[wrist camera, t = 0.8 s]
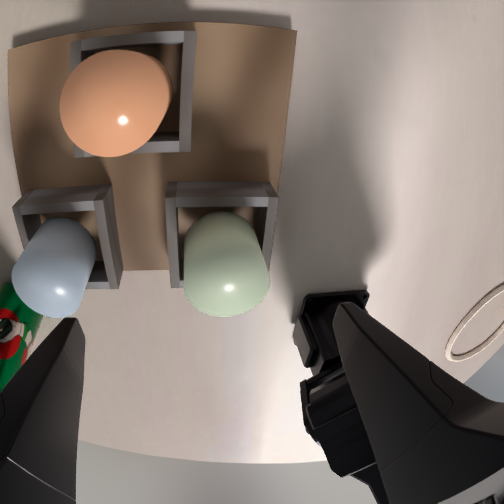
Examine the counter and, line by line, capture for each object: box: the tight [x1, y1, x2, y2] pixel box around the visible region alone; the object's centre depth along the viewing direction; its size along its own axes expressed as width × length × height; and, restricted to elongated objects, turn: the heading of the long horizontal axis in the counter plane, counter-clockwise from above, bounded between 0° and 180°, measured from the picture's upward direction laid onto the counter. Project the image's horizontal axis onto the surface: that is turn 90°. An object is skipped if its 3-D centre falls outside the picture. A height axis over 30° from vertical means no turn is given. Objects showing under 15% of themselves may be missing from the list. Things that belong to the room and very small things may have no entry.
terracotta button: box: [60, 49, 173, 157], centre depth 12 cm, size 4×4×4 cm
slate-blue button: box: [12, 217, 97, 318], centre depth 16 cm, size 4×4×4 cm
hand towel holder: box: [445, 284, 504, 362], centre depth 37 cm, size 17×4×20 cm
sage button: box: [184, 211, 270, 317], centre depth 18 cm, size 4×4×4 cm
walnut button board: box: [8, 22, 297, 289], centre depth 17 cm, size 18×16×3 cm
